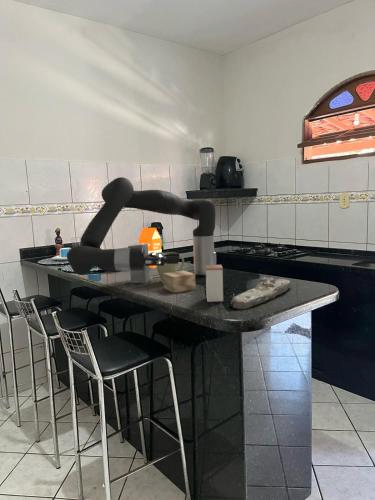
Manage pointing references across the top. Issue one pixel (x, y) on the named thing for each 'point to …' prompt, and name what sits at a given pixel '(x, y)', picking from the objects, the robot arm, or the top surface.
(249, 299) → the long grey stone
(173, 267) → the mug
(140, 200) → the robot arm
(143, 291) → the top surface
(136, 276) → the skincare box
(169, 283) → the oak block
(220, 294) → the canister
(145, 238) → the orange juice
